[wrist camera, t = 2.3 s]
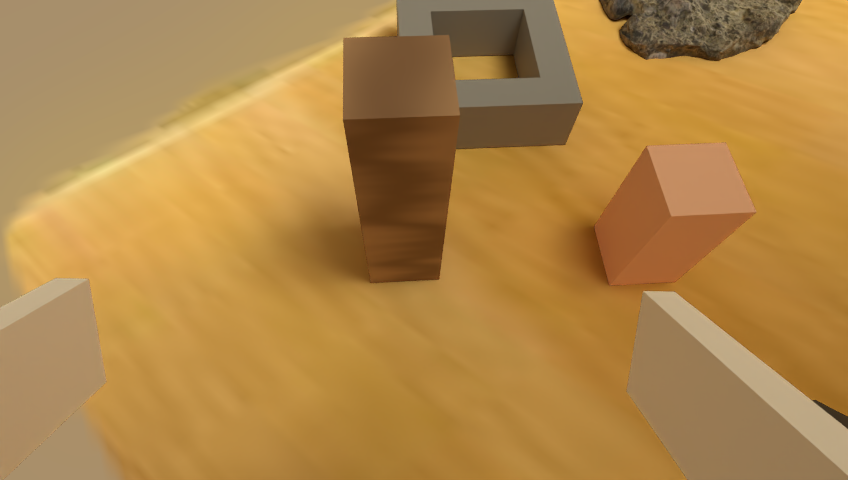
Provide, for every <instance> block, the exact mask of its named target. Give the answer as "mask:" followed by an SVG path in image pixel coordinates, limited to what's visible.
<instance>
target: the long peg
mask: <svg viewBox="0 0 848 480" xmlns="http://www.w3.org/2000/svg"><path fill="white" fill-rule="evenodd" d="M459 120H460V111H459V104H458V97H457V89H456V82H455V74H454V67H453V60H452V52H451V45H450V38H449V35H429V36H393V37H357V38H344V40H343V122H344V128H345V134H346V140H347V146H348V152H349V158H350V163H351V169H352V175H353V181H354V187H355V193H356V199H357V205H358V211H359V217H360V223H361V228H362V234H363V240H364V246H365V252H366V258H367V264H368V270H369V276H370V282H371V283H379V282H398V281H416V280H434V279H439V276H440V268H441V260H442V252H443V244H444V237H445V229H446V221H447V213H448V205H449V198H450V190H451V182H452V174H453V166H454V159H455V151H456V143H457V135H458V127H459Z"/></svg>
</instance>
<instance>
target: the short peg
mask: <svg viewBox="0 0 848 480" xmlns="http://www.w3.org/2000/svg"><path fill="white" fill-rule="evenodd" d="M755 213H756V210H755V208H754V205H753V203H752V201H751V199H750V196H749V194H748V192H747V190H746V187H745V185H744V183H743V180H742V178H741V176H740V174H739V171H738V169H737V167H736V165H735V162H734V160H733V158H732V155H731V153H730V151H729V149H728V146H727V144H726V143H704V144H679V145H654V146H646V148H645V149H644V151H643V152H642V154H641V155H640V157H639V158H638V160H637V162H636V163H635V165H634V166H633V168H632V169H631V171H630V172H629V174H628V175H627V177H626V178H625V180H624V181H623V183H622V184H621V186H620V188H619V189H618V191H617V192H616V194H615V195H614V197H613V198H612V200H611V201H610V203H609V204H608V206H607V207H606V209H605V211H604V212H603V214H602V215H601V217H600V218H599V220H598V221H597V223H596V224H595V226H594V229H595V233H596V237H597V241H598V244H599V248H600V252H601V256H602V260H603V263H604V267H605V271H606V275H607V279H608V283H609V286H613V285H631V284H649V283H667V282H676V281H677V280H678V279H679V278H680V277H682V276H683V275H684V274H685V273H686V272H687V271H688V270H690V269H691V268H692V267H693V266H694V265H695V264H697V263H698V262H699V261H700V260H701V259H702V258H704V257H705V256H706V255H707V254H708V253H709V252H711V251H712V250H713V249H714V248H715V247H716V246H718V245H719V244H720V243H721V242H722V241H723V240H725V239H726V238H727V237H728V236H729V235H730V234H732V233H733V232H734V231H735V230H736V229H737V228H739V227H740V226H741V225H742V224H743V223H744V222H746V221H747V220H748V219H749V218H750V217H751V216H753V215H754V214H755Z"/></svg>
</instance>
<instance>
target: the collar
mask: <svg viewBox="0 0 848 480" xmlns="http://www.w3.org/2000/svg"><path fill="white" fill-rule="evenodd" d="M429 35H449V38H450V45H451V52H452V57H456V56H489V55H514V60H515V64H516V69H517V74H518V78H510V79H480V80H455V82H456V89H457V97H458V104H459V111H460V120H459V127H458V135H457V143H456V149H464V148H489V147H514V146H539V145H564V144H566V142H567V139H568V137H569V135H570V132H571V130H572V128H573V125H574V123H575V121H576V118H577V116H578V114H579V111H580V109H581V107H582V104H583V101H582V98H581V94H580V91H579V87H578V84H577V80H576V77H575V73H574V70H573V67H572V63H571V60H570V56H569V53H568V49H567V46H566V42H565V39H564V35H563V32H562V28H561V25H560V21H559V18H558V14H557V11H556V8H555V4H554V1H553V0H397V36H429Z"/></svg>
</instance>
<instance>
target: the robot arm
mask: <svg viewBox="0 0 848 480" xmlns="http://www.w3.org/2000/svg"><path fill="white" fill-rule="evenodd" d="M105 383H106V376H105V370H104V364H103V359H102V353H101V347H100V341H99V335H98V330H97V324H96V318H95V312H94V306H93V301H92V295H91V289H90V283H89V279H72V278H55V279H53V280H51V281H49V282H47V283H45V284H44V285H42V286H40V287H38V288H36V289H34V290H32V291H30V292H28V293H26V294H25V295H23V296H21V297H19V298H17V299H15V300H13V301H11V302H10V303H7V304H6V305H4V306H2V307H0V480H3V479H4V478H5V477H7V476H8V475H9V474H10V473H11V472H12V471H13V470H14V469H15V468H16V467H17V466H18V465H19V464H20V463H21V462H22V461H23V460H24V459H26V458H27V457H28V456H29V455H30V454H31V453H32V452H33V451H34V450H35V449H36V448H37V447H38V446H39V445H40V444H41V443H42V442H44V441H45V440H46V439H47V438H48V437H49V436H50V435H51V434H52V433H53V432H54V431H55V430H56V429H57V428H58V427H59V426H60V425H62V424H63V423H64V422H65V421H66V420H67V419H68V418H69V417H70V416H71V415H72V414H73V413H74V412H75V411H76V410H77V409H78V408H79V407H81V406H82V405H83V404H84V403H85V402H86V401H87V400H88V399H89V398H90V397H91V396H92V395H93V394H94V393H95V392H96V391H97V390H99V389H100V388H101V387H102V386H103V385H104V384H105ZM627 393H628V394H629V395H630V397H631V398H632V400H633V401H634V403H635V404H636V406H637V407H638V409H639V410H640V411H641V413H642V414H643V416H644V417H645V419H646V420H647V422H648V423H649V425H650V426H651V427H652V429H653V430H654V432H655V433H656V435H657V436H658V438H659V439H660V440H661V442H662V443H663V445H664V446H665V448H666V449H667V451H668V452H669V454H670V455H671V456H672V458H673V459H674V461H675V462H676V464H677V465H678V467H679V468H680V470H681V471H682V472H683V474H684V475H685V477H686V478H687V480H848V417H847V416H845V415H843V414H841V413H839V412H837V411H836V410H834V409H832V408H830V407H828V406H826V405H824V404H822V403H820V402H818V401H816V400H811V399H809V398H808V397H807V396H806V395H804V394H803V393H802V392H800V391H799V390H798V389H797V388H795V387H794V386H793V385H792V384H790V383H789V382H788V381H787V380H785V379H784V378H783V377H782V376H780V375H779V374H778V373H777V372H775V371H774V370H773V369H771V368H770V367H769V366H768V365H766V364H765V363H764V362H763V361H761V360H760V359H759V358H758V357H756V356H755V355H754V354H753V353H751V352H750V351H749V350H748V349H746V348H745V347H744V346H742V345H741V344H740V343H739V342H737V341H736V340H735V339H734V338H732V337H731V336H730V335H729V334H727V333H726V332H725V331H724V330H722V329H721V328H720V327H719V326H717V325H716V324H715V323H713V322H712V321H711V320H710V319H708V318H707V317H706V316H705V315H703V314H702V313H701V312H700V311H698V310H697V309H696V308H695V307H693V306H692V305H691V304H690V303H688V302H687V301H686V300H684V299H683V298H682V297H681V296H679V295H678V294H677V293H676V292H666V291H643V294H642V300H641V306H640V313H639V319H638V325H637V331H636V337H635V343H634V349H633V355H632V361H631V367H630V374H629V380H628V386H627Z"/></svg>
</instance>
